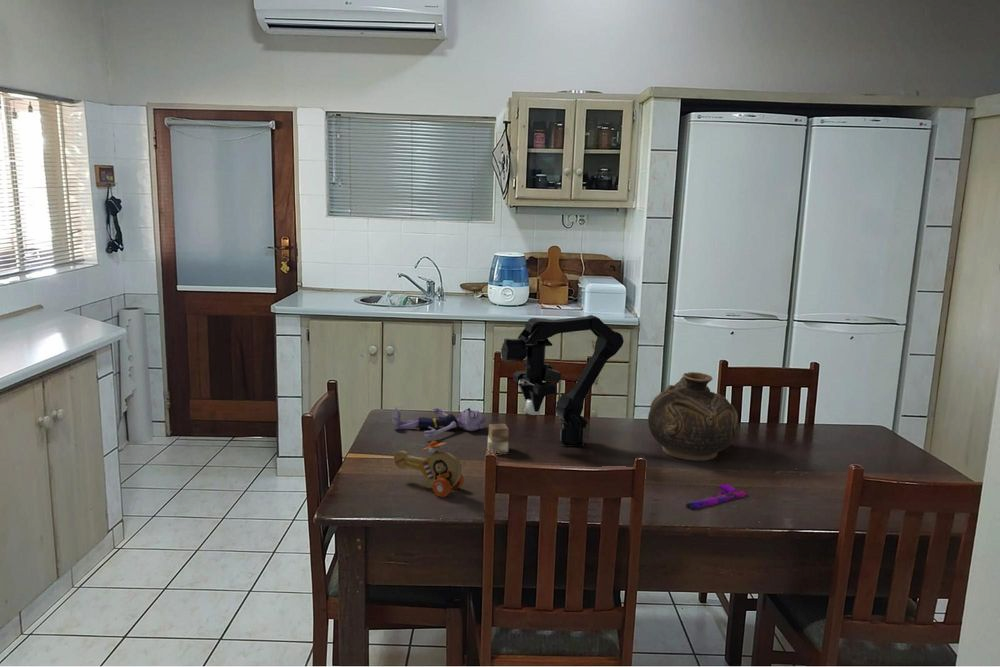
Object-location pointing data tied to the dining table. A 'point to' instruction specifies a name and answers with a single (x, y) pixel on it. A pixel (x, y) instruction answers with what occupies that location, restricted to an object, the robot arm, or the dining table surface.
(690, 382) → the vessel
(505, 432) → the top block
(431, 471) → the toy helicopter
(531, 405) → the grey rounded cylinder
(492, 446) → the base block
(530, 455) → the dining table surface
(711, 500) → the handgun
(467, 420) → the toy
